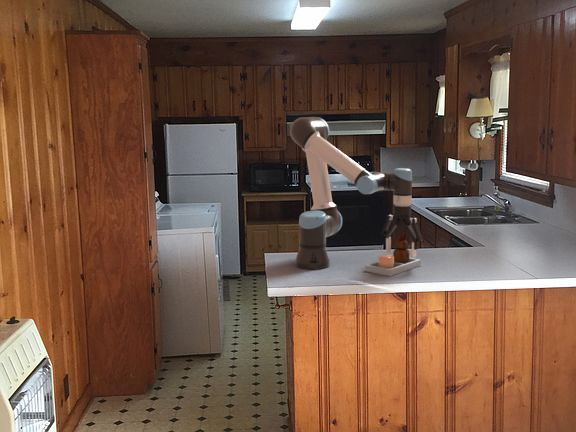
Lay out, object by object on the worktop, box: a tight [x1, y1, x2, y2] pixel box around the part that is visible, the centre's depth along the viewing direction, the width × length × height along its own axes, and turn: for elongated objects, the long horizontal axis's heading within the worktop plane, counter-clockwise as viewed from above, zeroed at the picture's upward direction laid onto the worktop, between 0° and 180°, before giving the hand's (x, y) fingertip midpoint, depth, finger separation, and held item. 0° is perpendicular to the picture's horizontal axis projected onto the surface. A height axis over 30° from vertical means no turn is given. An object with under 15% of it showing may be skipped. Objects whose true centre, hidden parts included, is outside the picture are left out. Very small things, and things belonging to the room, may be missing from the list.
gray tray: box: [364, 257, 422, 277], centre depth 273 cm, size 12×24×4 cm, turn 138°
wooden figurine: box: [392, 230, 410, 264], centre depth 276 cm, size 7×6×15 cm
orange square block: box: [378, 254, 394, 269], centre depth 268 cm, size 6×6×6 cm
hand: (400, 254), depth 276 cm, fingers open, 12 cm apart
